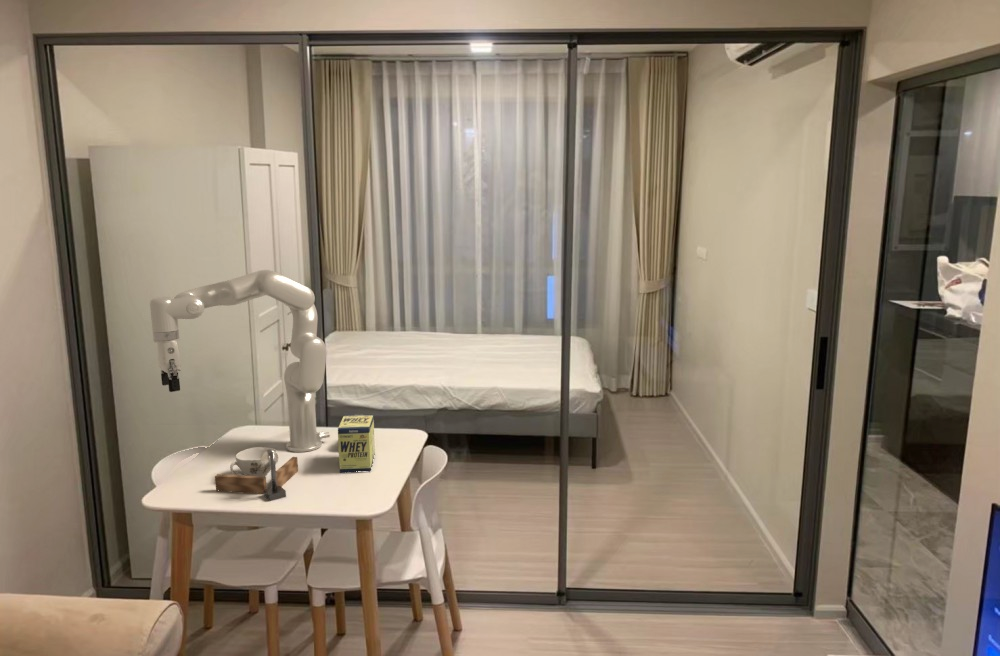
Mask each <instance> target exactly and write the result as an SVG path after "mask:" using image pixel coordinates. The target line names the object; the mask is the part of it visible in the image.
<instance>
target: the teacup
mask: <svg viewBox="0 0 1000 656" xmlns="http://www.w3.org/2000/svg"><path fill="white" fill-rule="evenodd" d="M267 450H272V451H274V452H276V453H277V450H276V449H275V448H272V447H268V446H267V447H264V446H263V447H262V446H257V447H256V446H255V447H250V448H247V449H244V450H241V451H239V452H237V454H236V455H235V461H232V462H231V463H230V466H229V469H230V471H231V473H233V475H243V476H262V477H267V475H268V474H269V473H270V472H271V468H267V467H264V466H263V465H262V464H261V462H260V458H261V455H262V454H263V453H264V452H265V451H267ZM234 466H237V467H238V469H239V470H240V471H236V470H234Z"/></svg>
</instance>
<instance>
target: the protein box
mask: <svg viewBox="0 0 1000 656" xmlns="http://www.w3.org/2000/svg"><path fill="white" fill-rule="evenodd" d="M374 419H375V418H374V414H372V413H371V414H344V415H343V417H342V419H341V421H340V423H339V425H338V427H337V439H338V441H337V442H338V461H339V462H338V463H339V473H340V474H346V473H347V472H351V473H359V472H358V471H371V472H372V469H371V467H373V465H372V464H374V462H373V459H374V460H375V458H374V455H375V456H376V451H375V450H376V449H375V448H376V446H375V423H374V422H375V420H374ZM356 471H357V472H356ZM345 472H346V473H345Z"/></svg>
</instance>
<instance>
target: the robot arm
mask: <svg viewBox="0 0 1000 656" xmlns="http://www.w3.org/2000/svg"><path fill="white" fill-rule="evenodd" d="M264 296H268V297H271V298H273V299H275V300H276V301H278V302H280V303H283V304H284V305H285V306H287V307H288V309H289V310H290V312H291V314H292V330H291V339H290V346H289V347H290V352H291V354H292V355H293V356H294V357H296V358H297V359H299V361H294V362H292V363H290V364H289V365H288V366H287V367H285V370H284V374H283V380H284V386H285V390H286V397H287V398H286V399H287V411H288V412H287V413H288V426H289V427H288V428H289V441H288V442H287V443H286V444H285V449H287V451H288V452H293V453H304V452H311V451H314V450H316V449H319V448H320V447H321V446H322V439H328V438H330V436H331V435H330V432H329V431H328V432H324V431H320V432H318V431H317V417H316V416H317V415H316V398H315V393H317V392H318V391H319V390H320V389H321V388H322V386H323V383H324V378H325V374H326V373H325V372H326V364H327V363H326V362H327V356H328V355H327V352H328V350H327V347H326V344H325V342H324V341H323V339H321V338H320V337H318V336H317V335H318V321H319V319H318V318H319V317H318V311H317V308H316V305H315V301H316V298H315V294H314V291H313V290H312V289H311V288H310V287H308V286H306V285H305V284H302V283H299V282H297V281H296V280H294V279H292V278H290V277H288V276H285V275H284V274H281V273H280V272H277V271H274V270H269V269H262V270H257V271H255V272H251V273H248V274H244V275H241V276H238V277H234V278H231V279H228V280H224V281H219V282H216V283H210V284H207V285H202V286H198V287H195V288H192V289H188V290H185V291H182V292H179V293H178V294H176V295H175V296H173V297H171V296H160V297H159V296H158V297H153V298H152V299H150V302H149V307H150V308H149V309H150V310H149V311H150V320H151V328H152V338H153V340H152V341H153V343H156V346H157V347H156V349H157V361H158V367H159V368H160V377H161V385H162V386H168V392H170V393H172V392H173V393H174V392H179V391H181V384H180V382H181V381H180V376H179V372H181V371H182V361H181V354H180V350H179V344H178V341H179V340H180V330H179V322H178V321H179V319H180V320H181V319H182V320H194V319H197V318H199V317H201V316H202V315H203V314H204V312H205V309H208V308H213V307H217V306H218V307H220V306H228V307H229V306H230V307H231V306H235V305H241V304H242V303H246V302H248V301H252V300H254V299H258V298H260V297H264Z"/></svg>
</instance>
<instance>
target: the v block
mask: <svg viewBox="0 0 1000 656" xmlns="http://www.w3.org/2000/svg"><path fill="white" fill-rule="evenodd" d="M298 471H299V463H298V456H292V457H291V458H289V459H288V460H287V461H286V462H285V463H284V464H282V465H281V466H280V467H279V468H278V469H276V481H277V486H281V487H282V488H283V486H284V485H285V484H286V483H287V482H288V481H289V480H291V479H292V477H294V476H295V475H296V474H297V473H298ZM270 478H271V477H270ZM271 480H272V478H271ZM214 482H215V492H220V491H232V492H231V493H238V492H243V493H244V494H256V495H257V494H259V495H260V494H261V495H264V489H268V488H267V476H265V477H262V476H246V475H244V474H222V473H221V474H218V473H217V474H216V475H214ZM218 490H219V491H218Z"/></svg>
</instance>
